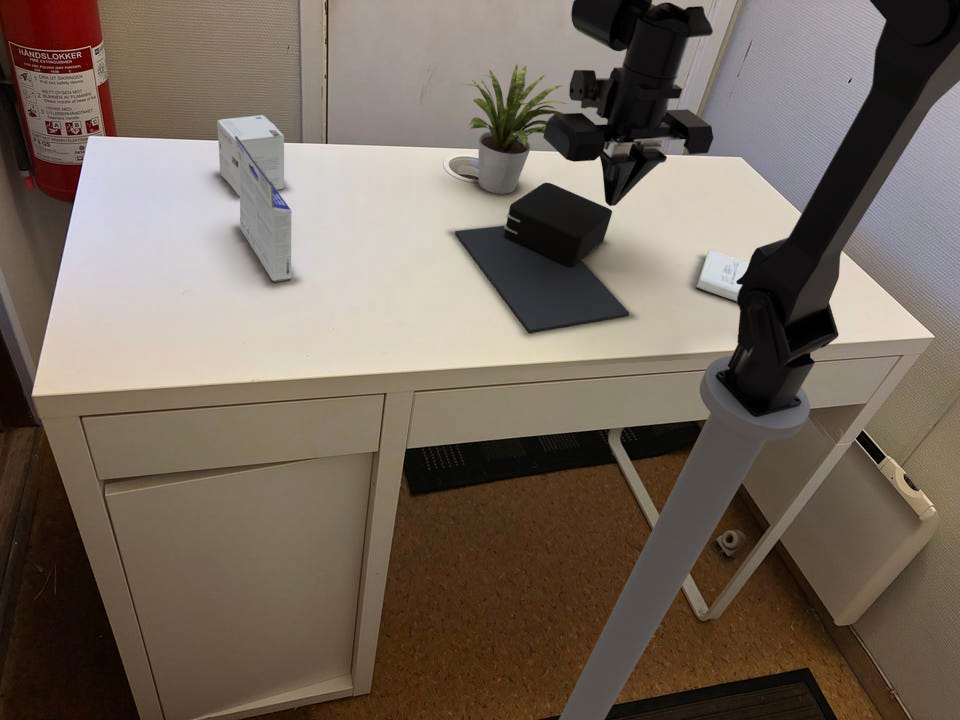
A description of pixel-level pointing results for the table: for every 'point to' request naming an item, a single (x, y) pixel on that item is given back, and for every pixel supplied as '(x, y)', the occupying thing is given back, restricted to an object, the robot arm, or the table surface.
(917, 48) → the robot arm
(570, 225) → the electronic device
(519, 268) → the mat
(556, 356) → the table surface
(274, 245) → the ink box
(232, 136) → the white cardboard box
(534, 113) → the house plant
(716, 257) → the hard drive
